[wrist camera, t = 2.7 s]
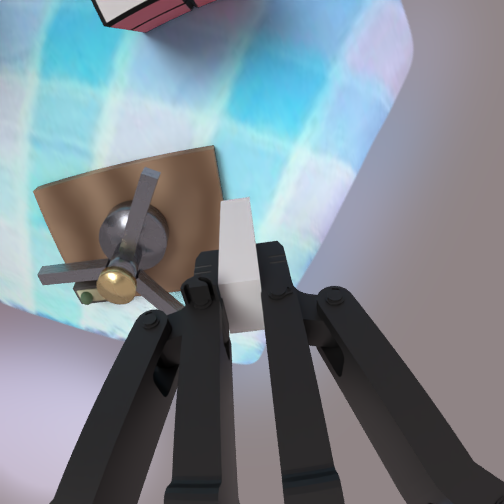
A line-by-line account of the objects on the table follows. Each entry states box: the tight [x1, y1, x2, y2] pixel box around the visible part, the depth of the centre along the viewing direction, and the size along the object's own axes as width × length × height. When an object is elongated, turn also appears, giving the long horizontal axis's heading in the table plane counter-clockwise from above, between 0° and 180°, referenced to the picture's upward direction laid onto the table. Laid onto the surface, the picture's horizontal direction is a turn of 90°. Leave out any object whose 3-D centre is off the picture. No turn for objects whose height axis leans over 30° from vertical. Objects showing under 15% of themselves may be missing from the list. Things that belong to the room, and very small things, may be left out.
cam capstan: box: [37, 167, 185, 315], centre depth 28 cm, size 16×18×8 cm
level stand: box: [33, 145, 224, 305], centre depth 32 cm, size 20×16×4 cm
